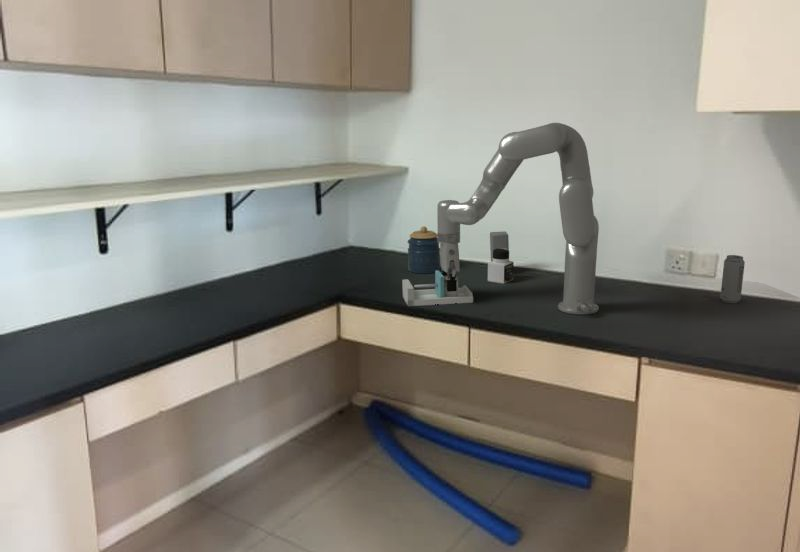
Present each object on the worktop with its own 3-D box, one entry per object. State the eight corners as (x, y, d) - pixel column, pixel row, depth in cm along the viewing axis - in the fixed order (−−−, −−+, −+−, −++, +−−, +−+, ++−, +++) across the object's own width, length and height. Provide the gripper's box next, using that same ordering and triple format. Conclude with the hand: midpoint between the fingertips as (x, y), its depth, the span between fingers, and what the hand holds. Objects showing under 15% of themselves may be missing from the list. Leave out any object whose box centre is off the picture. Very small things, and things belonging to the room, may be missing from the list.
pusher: (444, 300, 229) (444, 276, 227) (416, 301, 228) (416, 278, 226) (438, 292, 238) (438, 270, 236) (412, 294, 237) (412, 271, 235)
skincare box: (509, 275, 265) (510, 234, 261) (491, 275, 265) (491, 234, 261) (506, 269, 273) (507, 230, 269) (488, 270, 273) (489, 230, 269)
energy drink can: (722, 297, 230) (726, 253, 227) (741, 300, 227) (746, 256, 223) (718, 301, 226) (722, 257, 222) (738, 304, 222) (743, 259, 218)
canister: (406, 267, 280) (405, 224, 276) (437, 265, 281) (437, 223, 277) (410, 274, 268) (409, 230, 263) (442, 273, 269) (442, 228, 265)
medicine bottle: (504, 284, 252) (504, 252, 249) (487, 281, 256) (487, 249, 253) (513, 279, 257) (514, 248, 254) (496, 277, 262) (497, 246, 259)
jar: (459, 299, 232) (460, 279, 230) (443, 300, 231) (443, 280, 229) (456, 294, 237) (456, 274, 236) (439, 295, 237) (439, 275, 235)
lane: (473, 302, 230) (473, 285, 228) (407, 306, 227) (407, 288, 225) (464, 292, 241) (464, 276, 240) (402, 296, 238) (402, 279, 237)
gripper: (465, 242, 221) (465, 293, 226) (454, 232, 238) (454, 280, 242) (443, 243, 220) (443, 295, 225) (432, 233, 237) (433, 281, 241)
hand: (448, 287), depth 233 cm, fingers open, 9 cm apart
